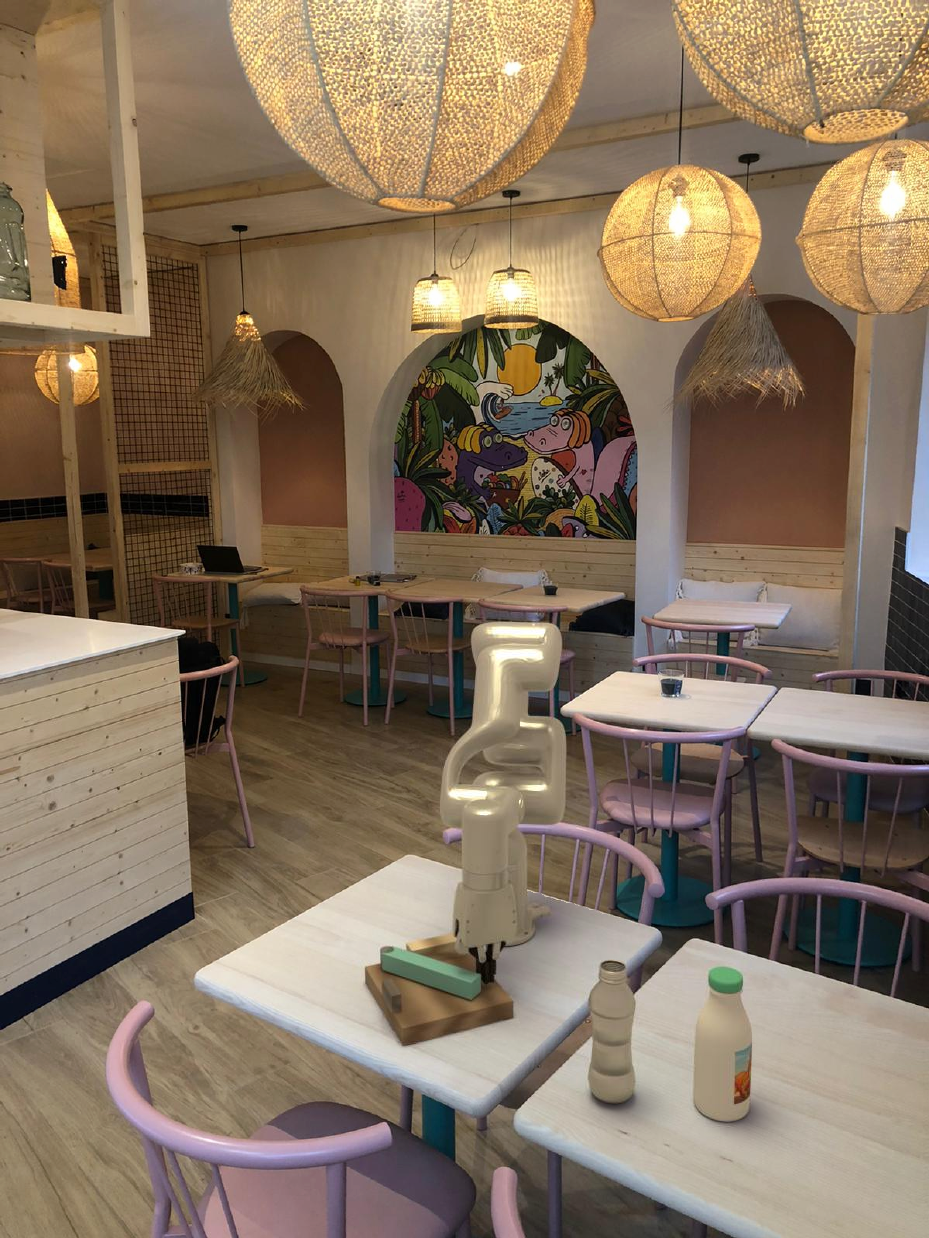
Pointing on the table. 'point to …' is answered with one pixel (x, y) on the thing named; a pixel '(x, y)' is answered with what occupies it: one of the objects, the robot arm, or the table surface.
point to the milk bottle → (723, 1050)
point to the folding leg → (430, 972)
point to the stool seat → (435, 997)
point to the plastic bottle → (611, 1034)
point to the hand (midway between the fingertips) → (486, 979)
